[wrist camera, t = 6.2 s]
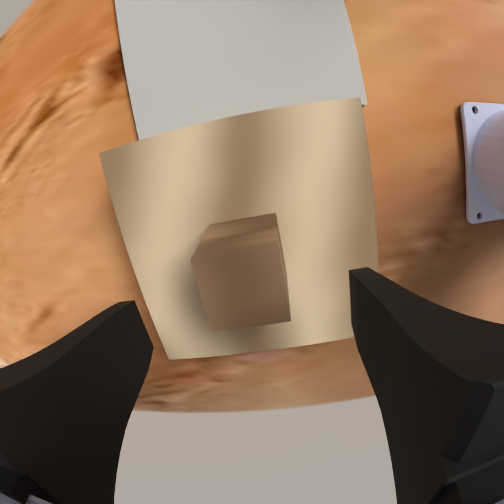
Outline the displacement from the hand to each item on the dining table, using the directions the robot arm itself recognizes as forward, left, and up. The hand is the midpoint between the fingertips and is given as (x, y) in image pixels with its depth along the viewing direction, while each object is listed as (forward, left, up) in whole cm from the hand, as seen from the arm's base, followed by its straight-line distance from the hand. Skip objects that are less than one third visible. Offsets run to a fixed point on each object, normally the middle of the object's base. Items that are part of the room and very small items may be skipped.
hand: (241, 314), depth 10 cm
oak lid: (0, 0, -6) cm, 6 cm away
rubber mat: (-1, -12, -10) cm, 16 cm away
